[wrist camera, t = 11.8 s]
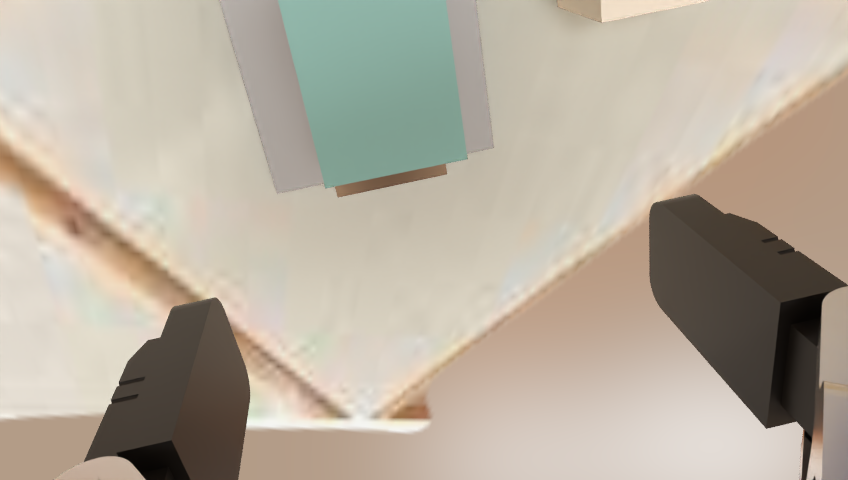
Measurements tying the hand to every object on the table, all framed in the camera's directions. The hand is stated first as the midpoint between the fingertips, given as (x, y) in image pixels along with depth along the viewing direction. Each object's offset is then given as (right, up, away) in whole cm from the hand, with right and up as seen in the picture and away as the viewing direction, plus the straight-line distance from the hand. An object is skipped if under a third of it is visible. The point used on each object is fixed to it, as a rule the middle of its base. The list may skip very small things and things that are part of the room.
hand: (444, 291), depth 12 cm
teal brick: (-3, +10, +13) cm, 17 cm away
